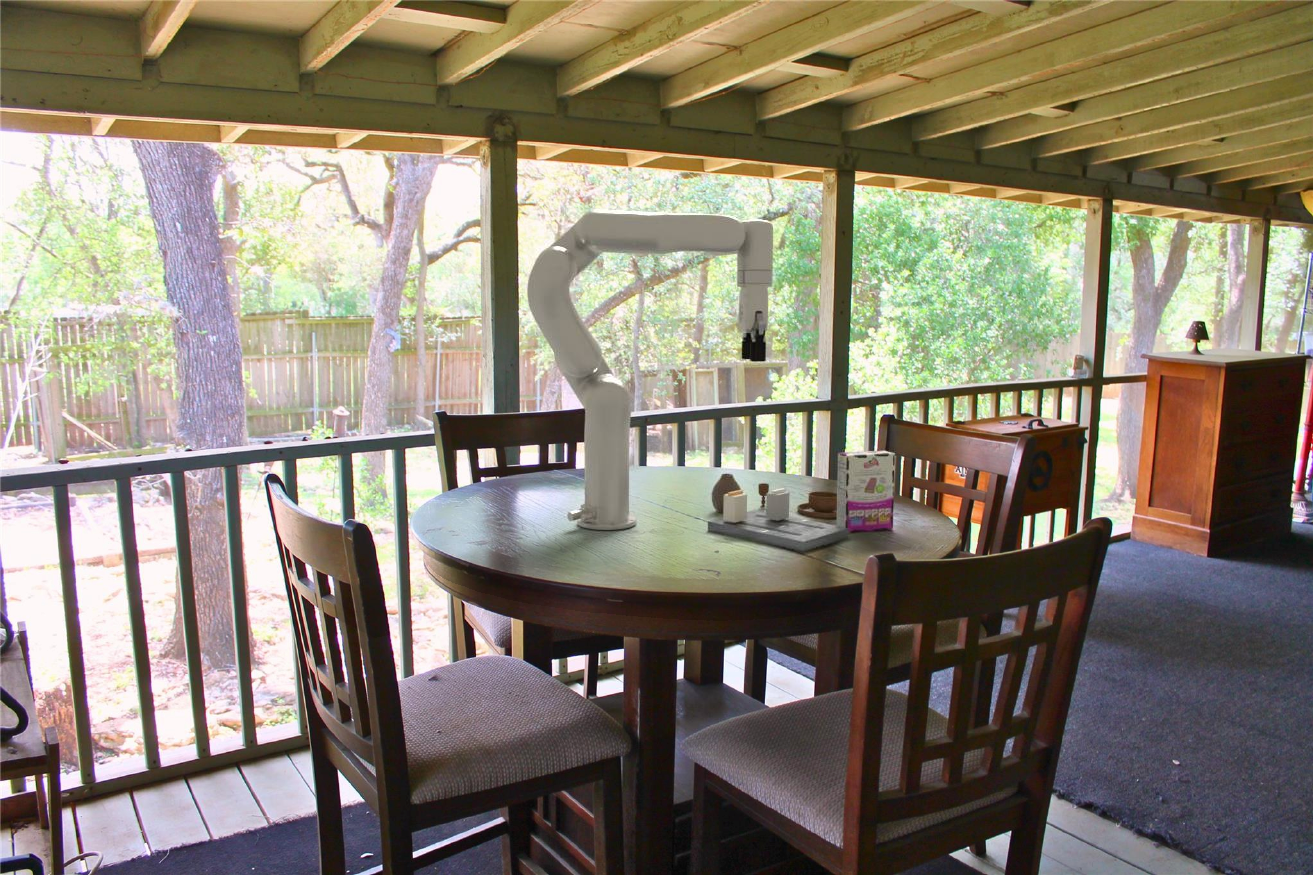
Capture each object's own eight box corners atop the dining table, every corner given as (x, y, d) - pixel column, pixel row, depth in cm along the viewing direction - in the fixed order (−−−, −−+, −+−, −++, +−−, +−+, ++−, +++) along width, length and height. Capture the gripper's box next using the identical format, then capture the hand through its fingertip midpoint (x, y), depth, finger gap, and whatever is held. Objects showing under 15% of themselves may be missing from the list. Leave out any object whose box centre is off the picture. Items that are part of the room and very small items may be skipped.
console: (803, 551, 173) (803, 541, 173) (707, 530, 190) (707, 520, 189) (848, 537, 185) (849, 527, 184) (755, 518, 201) (755, 509, 201)
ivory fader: (734, 522, 187) (734, 493, 186) (723, 520, 189) (723, 491, 188) (746, 519, 190) (747, 491, 189) (735, 517, 192) (736, 489, 191)
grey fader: (777, 520, 189) (778, 491, 188) (765, 518, 191) (766, 490, 190) (789, 517, 192) (789, 489, 191) (777, 515, 194) (778, 487, 193)
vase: (739, 516, 204) (740, 477, 203) (709, 514, 205) (710, 476, 204) (743, 509, 211) (744, 472, 209) (713, 508, 212) (714, 471, 211)
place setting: (814, 525, 198) (815, 498, 197) (752, 508, 214) (753, 484, 213) (868, 515, 208) (869, 489, 207) (806, 500, 224) (806, 476, 224)
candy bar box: (881, 525, 196) (884, 449, 194) (893, 530, 191) (896, 453, 189) (834, 527, 193) (837, 451, 191) (845, 533, 188) (848, 455, 186)
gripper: (730, 281, 202) (729, 358, 204) (744, 278, 185) (743, 362, 187) (763, 281, 203) (762, 358, 205) (781, 278, 186) (779, 362, 188)
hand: (753, 360), depth 196 cm, fingers open, 9 cm apart
